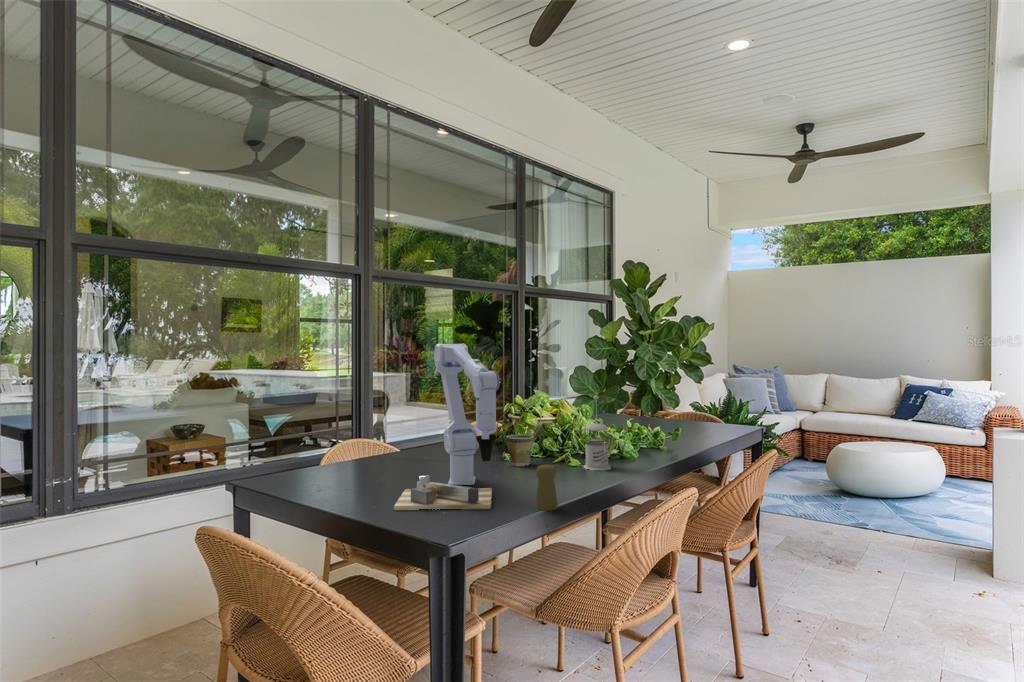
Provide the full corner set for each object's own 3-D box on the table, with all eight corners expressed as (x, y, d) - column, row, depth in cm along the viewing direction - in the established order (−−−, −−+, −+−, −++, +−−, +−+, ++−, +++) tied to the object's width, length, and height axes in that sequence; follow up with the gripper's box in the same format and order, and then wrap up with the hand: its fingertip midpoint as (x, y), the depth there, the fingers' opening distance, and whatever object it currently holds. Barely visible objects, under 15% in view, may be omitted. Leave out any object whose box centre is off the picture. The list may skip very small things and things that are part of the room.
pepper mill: (544, 503, 163) (543, 462, 163) (562, 506, 159) (562, 464, 159) (530, 508, 158) (529, 465, 158) (549, 511, 154) (548, 468, 154)
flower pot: (534, 467, 211) (534, 438, 211) (505, 467, 211) (505, 438, 211) (533, 460, 224) (533, 433, 224) (506, 460, 224) (506, 433, 224)
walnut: (424, 498, 164) (424, 484, 164) (437, 497, 164) (437, 484, 164) (422, 501, 161) (422, 487, 161) (436, 501, 161) (435, 487, 161)
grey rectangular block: (417, 499, 163) (417, 487, 163) (433, 502, 159) (432, 490, 159) (410, 501, 161) (410, 489, 161) (426, 504, 157) (426, 492, 157)
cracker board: (405, 493, 175) (405, 489, 175) (491, 492, 175) (491, 488, 175) (394, 510, 157) (394, 505, 157) (490, 509, 157) (490, 504, 157)
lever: (415, 493, 168) (415, 476, 168) (422, 491, 170) (422, 474, 170) (473, 503, 157) (473, 484, 157) (479, 500, 160) (479, 482, 160)
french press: (576, 466, 211) (576, 395, 211) (602, 463, 217) (601, 393, 217) (595, 471, 202) (594, 396, 203) (621, 467, 209) (620, 395, 209)
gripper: (473, 410, 181) (473, 456, 181) (470, 416, 166) (471, 465, 166) (496, 410, 181) (497, 456, 181) (496, 416, 166) (496, 465, 166)
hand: (486, 460), depth 174 cm, fingers closed
